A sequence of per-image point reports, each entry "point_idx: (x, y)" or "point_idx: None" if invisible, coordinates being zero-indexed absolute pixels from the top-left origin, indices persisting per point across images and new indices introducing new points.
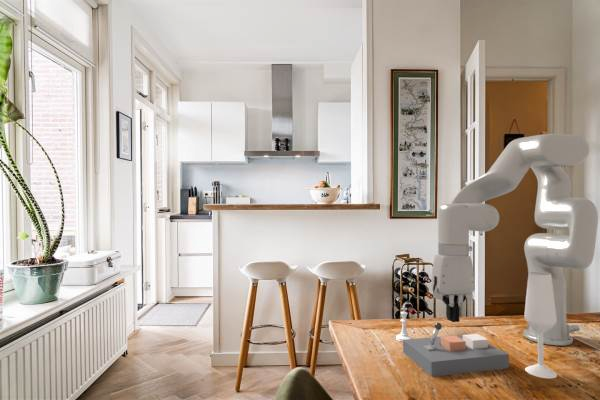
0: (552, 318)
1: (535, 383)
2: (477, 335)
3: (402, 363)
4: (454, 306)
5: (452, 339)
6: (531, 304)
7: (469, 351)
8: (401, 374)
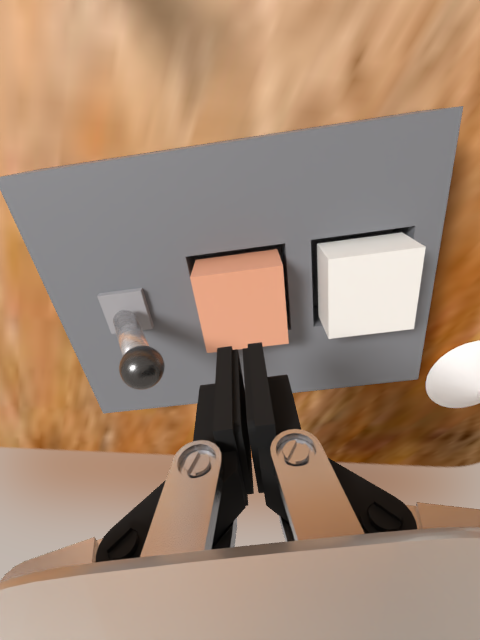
0: None
1: (389, 425)
2: (405, 273)
3: (29, 285)
4: (256, 474)
5: (237, 317)
6: None
7: (285, 346)
8: (24, 361)
